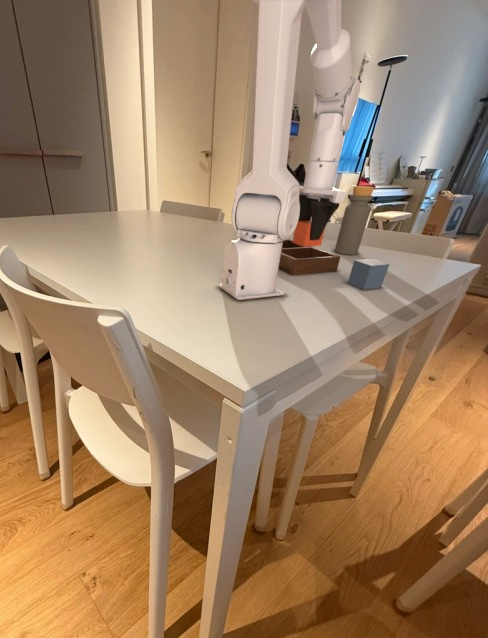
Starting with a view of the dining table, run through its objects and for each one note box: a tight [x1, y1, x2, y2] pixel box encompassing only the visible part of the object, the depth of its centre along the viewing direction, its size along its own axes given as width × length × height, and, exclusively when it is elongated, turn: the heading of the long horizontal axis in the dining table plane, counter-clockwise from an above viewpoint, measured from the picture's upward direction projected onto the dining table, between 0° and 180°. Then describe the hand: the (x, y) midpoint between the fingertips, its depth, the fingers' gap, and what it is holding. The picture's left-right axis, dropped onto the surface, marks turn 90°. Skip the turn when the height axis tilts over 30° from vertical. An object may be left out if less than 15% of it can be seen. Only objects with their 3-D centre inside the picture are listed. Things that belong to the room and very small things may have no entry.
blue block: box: [347, 258, 390, 291], centre depth 65 cm, size 4×4×4 cm
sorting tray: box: [278, 238, 341, 276], centre depth 80 cm, size 20×12×3 cm, turn 20°
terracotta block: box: [292, 219, 326, 247], centre depth 73 cm, size 4×4×4 cm
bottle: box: [334, 185, 375, 256], centre depth 86 cm, size 6×6×15 cm
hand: (307, 237), depth 73 cm, fingers closed on terracotta block, 4 cm apart
